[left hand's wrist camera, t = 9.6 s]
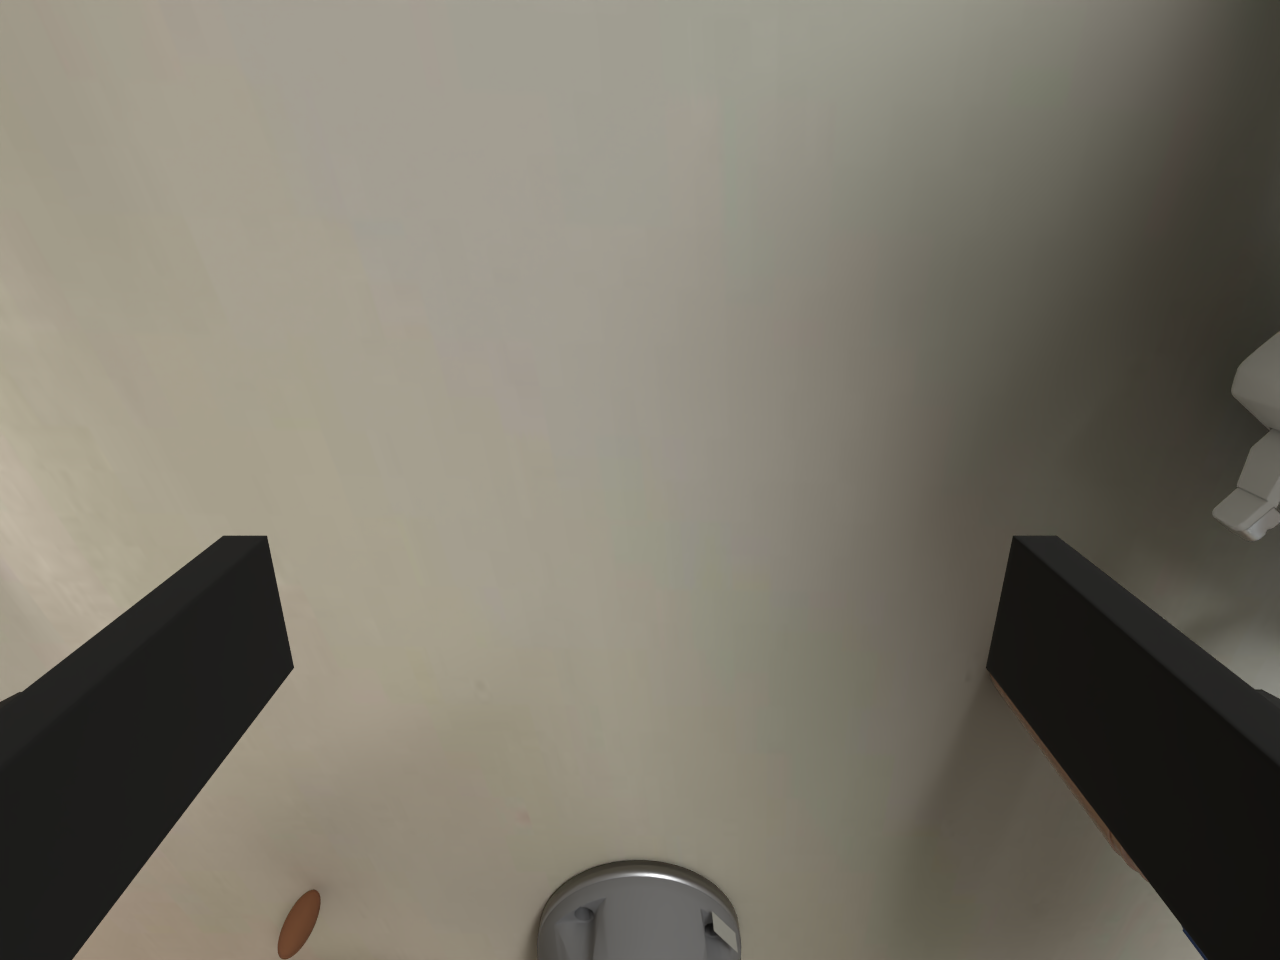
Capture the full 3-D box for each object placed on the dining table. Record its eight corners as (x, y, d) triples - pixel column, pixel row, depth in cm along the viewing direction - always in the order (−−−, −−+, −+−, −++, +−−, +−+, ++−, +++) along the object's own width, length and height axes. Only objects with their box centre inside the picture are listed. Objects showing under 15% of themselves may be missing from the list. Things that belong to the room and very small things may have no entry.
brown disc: (333, 890, 53) (304, 957, 48) (318, 904, 53) (287, 972, 49) (311, 877, 52) (278, 943, 48) (296, 891, 53) (262, 958, 48)
